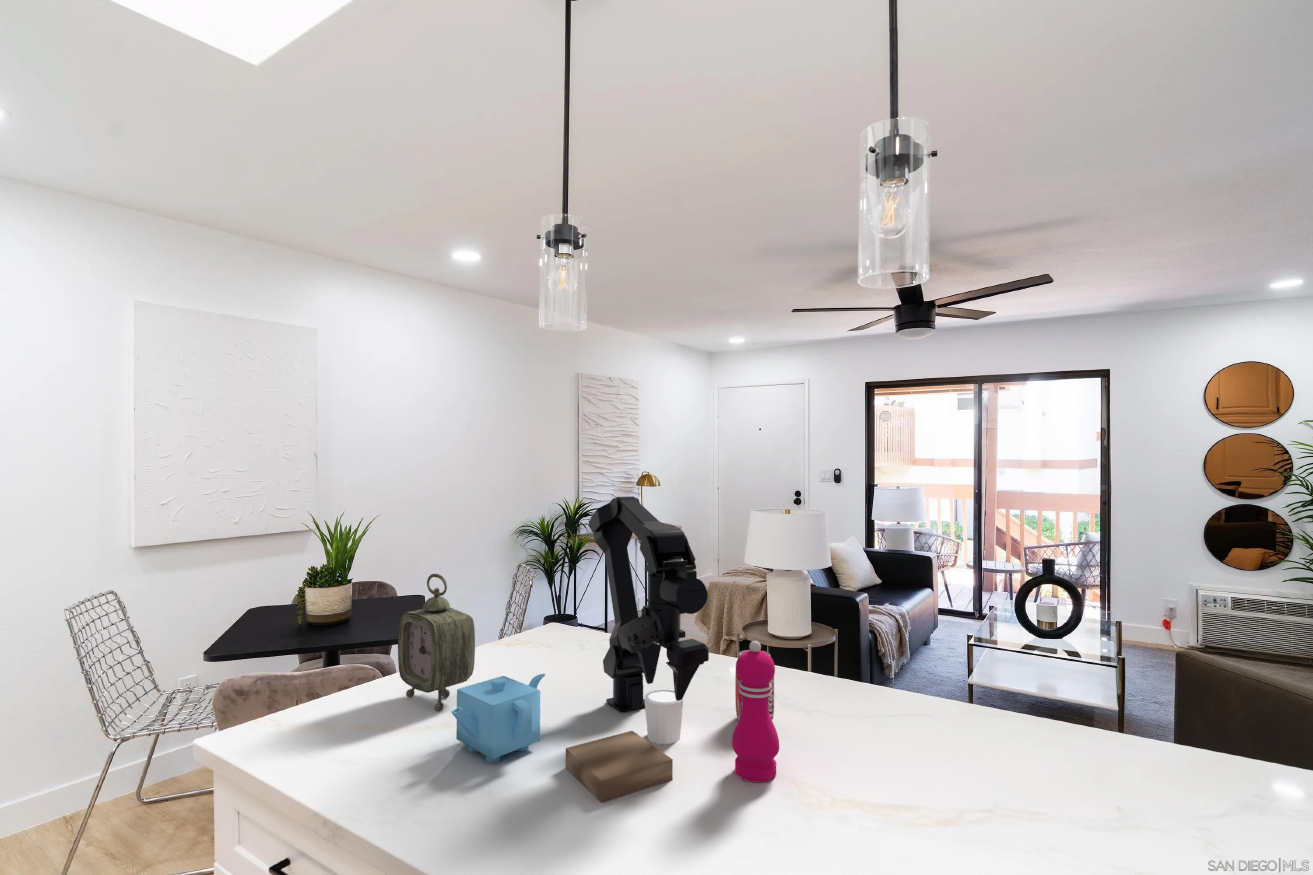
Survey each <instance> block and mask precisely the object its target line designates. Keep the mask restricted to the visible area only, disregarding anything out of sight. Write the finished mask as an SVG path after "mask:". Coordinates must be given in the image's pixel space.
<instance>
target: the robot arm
mask: <svg viewBox="0 0 1313 875" xmlns="http://www.w3.org/2000/svg"><path fill="white" fill-rule="evenodd" d="M589 524H590V525H589V526H590V531H591V532H592V533H593V537H594V538H593V539H594V542H595V544H596V545H597V546H598V548H599V549H600V550H601V551H602V552H603V553H604V557H605V558H604V559H605V563H606V564H605V565H606V571H607V572H606V573H607V577H608V585H609V589H610V590H609V591H610V599H611V604H612V610H613V618H614V627H613V629H612V631H611V634H610V637H609V640H608V641H609V648H608V650H607V651H606V653H605V656H604V658H603V660H602V666H603V672H604V673H605V674H606V676H608V677H610V678H611V679H612V697H610V698H606V700H605V702H606V703H607V704H609V705H610V707H611V706H612V707H613V708H614V709H616V710H617V711H618V712H621V713H625V712H629V711H632V710H637V709H641V708H645V700H644V679H645V682H646V684H648V685H651V684H653V683H654V679H655V676H656V673H657V672H656V671H657V667H658V663H659V658H660V654H661V650H662V648H664V649H666V657H667V660H668V661H666V662H665V663H666V665H667V666H668V667H669V668H670V669H671V670H672V677H673V691H674V692H675V698H676V700H677V701H679V700H682V699H683V697H684V698H685V694H686V692H687V690H688V688H689V686H690V684H691V682H692V680H693V678H694V676H695V674H696V673H697V671H698V669H699V667H700V666H701V665H704V663H706V662H708V661H709V660H710V648H709V647H708V646H707V645H706V644H705V643H704V642H702V641H700V640H697V639H694V638H690V639H684V640H680V639H683V638H686V631H685V630H683V629H681V617H682V616H681V615H683V614H688V615H694V614H697V613H699V612H700V611H701V610H702V609H703V608H704V607H705V606H706V604H707V600H708V596H709V594H708V590H707V588H706V585H705V583H704V581H702V580H701V579H699V578H698V577H697V576H698V575H697V574H698V573H697V570H696V569H697V565H696V562H695V561H696V557H695V555H694V552H693V550H692V549H691V546H690V543H689V540H688V537H687V536H686V533H685V532H684V531H683V530H682V529H681V528H680V527H678V526H676V525H673V524H671V523H666V522H662V521H660V520H659V519H658V518H657V517H656V516H654V515H653V514H652V513H651V512H650V511H649V510H648V509H647V508H646V507H644V505H643V504H642V503H640V500H639V498H638V497H635V496H633V495H631V496H629V495H628V496H616V497H613V498H612V499H611V500H610V502H607V503H606V504H603V505H601V506H600V507H597V509H595V511H594V512H593V513H592V515H591V517H590V520H589ZM633 535H635V536H636V537H637V539H638V540H639V541H640V544H639V551H640V553H641V554H642V556H643V558H644V561H645V562H646V565H645V566H644V568H643V569H644V571H645V572H647V605H643V606H642V608H641V615H640V616H639V612H638V605H637V604H638V603H637V600H636V599H637V598H636V593H635V588H634V580H633V575H632V568H631V562H630V557H629V550H628V548H629V547H628V546H629V544H630V542H631V539H632V537H633ZM683 700H684V699H683Z"/></svg>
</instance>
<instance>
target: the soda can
mask: <svg viewBox="0 0 1313 875" xmlns="http://www.w3.org/2000/svg"><path fill="white" fill-rule="evenodd" d="M749 650H750V649H747V650H746V649H745V650H742V651H740V652H739V653H738V657H739V656H740V655H741V654H742V653H744V652H746V651H749ZM762 651H763V652H765V653H767V654H768V655H769V656H770V657H771V654H770V653H769V652H767V651H764V650H762ZM734 680H735V682H734V683H735V684H734V685H735V693H734V694H735V695H734V696H735V713H736V714H735V715H736V718H737V719H739V718H740V716H741V711H742V694H741V693H740V692H739V688H740V686H739V682H740V681H741V680H740V678H739V677H738V676H737V673H736V672H735V679H734ZM770 683H771V685H772V688H771V691H772V694H771V695H770V696H769V700H768V706H769V713H770V717H771V719H772V720H774V713H775V676H774V677H773V678H772V680H771V681H770Z"/></svg>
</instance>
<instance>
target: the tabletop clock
mask: <svg viewBox="0 0 1313 875" xmlns="http://www.w3.org/2000/svg"><path fill="white" fill-rule="evenodd" d="M432 578H438V579H439V580H440V581H442V583H443V586H444V588H443V591H441V592H440V588H439V587H435V588H434V589H432V587H431V586H430V585H431V584H430V581H431V580H432ZM447 584H448V583H447V581H446V578H444V577H443V576H442V575H441V574H439V573H432V574H430V575H429V576H428V578H427V580H426V587H427V590H428V591H429V593H430V594H431V595H433V596H431V597H429V598H428V599H427V600H425V602H424V603H423V606H422V609H417V610H411V611H407V612H403V613H401V614H400V618H399V621H398V623H399V624H398V630H397V631H398V633H397V634H398V637H397V665H398V671H399V678H400V679H401V680H402V681H403V682H404V683H405V684H407V685H408V686H410V687H411V688H409V689H407V690H406V693H405V695H406V697H407V698H413V697H414V695H415V690H417V691H420V692H423V693H432V692H436V691H437V693H438V696H437V702H436V703H435V704H434V710H435V711H436V712H441V711H443V709H444V703H442V700H443V699H442V698H444V699H447V698H448V697H449V696H450V695H451V692H450V690H449V689H447V688H449V687H452V686H455V685H459V684H462V683H465V682H467V681H468V680H469V679H470V677H471V676H472V675H473V674H474V673H473V672H474V671H475V670H474V669H475V660H476V658H475V656H476V631H475V630H476V628H475V623H474V618H472V616H471V615H469V614H468V613H466V612H463V611H460V610H458V609H455V608H454V607H451V605H450V602H449V601H448V600H447V599H446V597H444V595H445V594H446V593H447V589H448V585H447Z"/></svg>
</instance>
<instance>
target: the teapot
mask: <svg viewBox="0 0 1313 875" xmlns="http://www.w3.org/2000/svg"><path fill="white" fill-rule="evenodd" d="M545 676H546V673H540V674H536V675H535V676H533V677H532V679H531V680H530V682H529V684H526V683H523V682H521V681H518V680H516V679H513V678H510V677H508V676H506V675H501V676H498V677H494V678H491V679H488V680H483V681H481V682H476V683H474V684H471V685H466V686H463V687H460V688H457V689H456V708H455V709H453V710H451V711H450V712H451V714H452V715H453V717H454V718H455V719H456V733H455V735H456V736H455V737H456V740H457V741H459V742H461V743H462V744H465V745H466V746H468V747H467V749H466V750H467V751H468V752H470V753H471V752H472V753H474V752H475V753H476V752H478V753H479V754H482V755H484V756H485V762H487V763H490V764H493V763H497V762H499V761H500V760H501V757H502V756H505V755H508V754H509V753H512V752H514V751H517V752H524V751H528V750H529V745H530V746H531V745H533V744H535V743H538V742H540V741H541V690H540V689H538V686H539V683H540V681H541V680H542V679H544V677H545Z"/></svg>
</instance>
